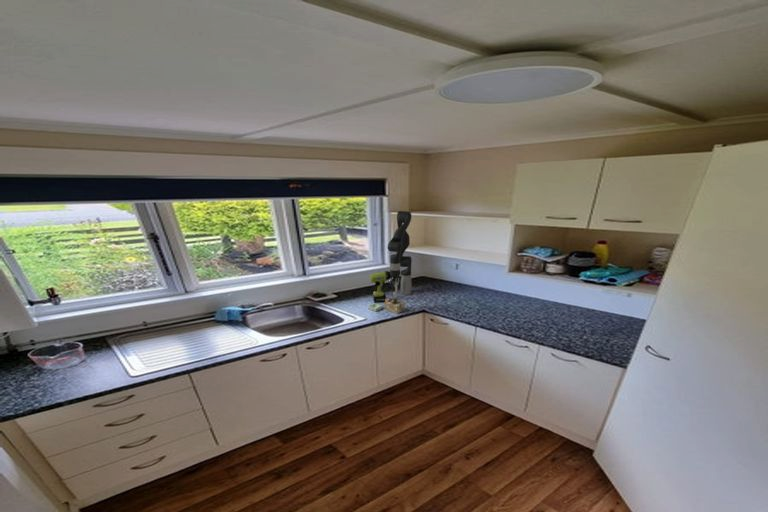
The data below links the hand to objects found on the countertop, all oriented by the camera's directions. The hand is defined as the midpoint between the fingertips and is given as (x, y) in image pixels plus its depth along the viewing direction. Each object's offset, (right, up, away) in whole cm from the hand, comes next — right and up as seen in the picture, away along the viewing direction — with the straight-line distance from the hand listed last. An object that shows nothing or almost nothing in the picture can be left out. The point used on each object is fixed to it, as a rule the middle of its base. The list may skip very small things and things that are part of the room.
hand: (395, 290), depth 231 cm
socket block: (0, -15, +3) cm, 16 cm away
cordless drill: (-8, -11, +23) cm, 27 cm away
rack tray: (-15, -15, +7) cm, 22 cm away
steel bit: (0, -9, +2) cm, 9 cm away
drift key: (-5, -14, +8) cm, 17 cm away
